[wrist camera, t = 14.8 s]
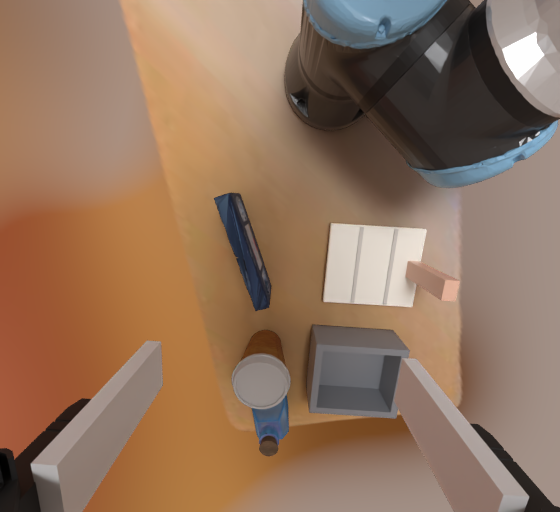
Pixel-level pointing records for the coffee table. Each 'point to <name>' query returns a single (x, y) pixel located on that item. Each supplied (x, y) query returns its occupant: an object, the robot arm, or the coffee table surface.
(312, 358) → the tub
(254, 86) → the coffee table surface
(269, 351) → the disposable coffee cup
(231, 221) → the vhs cassette tape
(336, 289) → the lid
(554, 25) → the robot arm
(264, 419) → the perfume bottle
